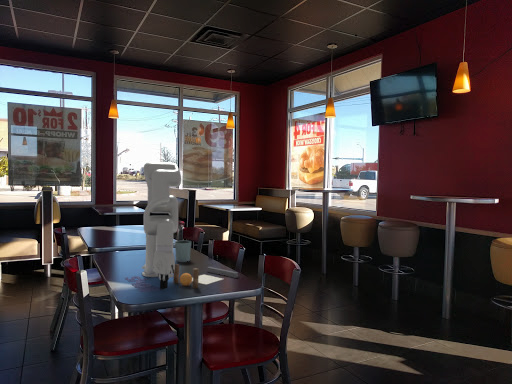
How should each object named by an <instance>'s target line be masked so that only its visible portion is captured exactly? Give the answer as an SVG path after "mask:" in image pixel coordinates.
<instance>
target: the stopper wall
mask: <svg viewBox="0 0 512 384" xmlns="http://www.w3.org/2000/svg"><path fill="white" fill-rule="evenodd" d="M206 272H207V273H211V274H216V275H219V274H220V276H224V275H225V276H224V277H230V278H235V279H236V278H239V272H237V271H231V270H226V269H222V268H219V267H218V268H216V267H212V266H208V267H206Z"/></svg>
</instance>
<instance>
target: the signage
mask: <svg viewBox="0 0 512 384" xmlns="http://www.w3.org/2000/svg"><path fill="white" fill-rule="evenodd" d="M124 280H126V281H128V282H129V283H131V286H132V287H134V288H136V289H137V290H138V291H139V292H141V293H146V292H154V291H161V290H163V289H160V286H152V284H150V283H147V282H146V281H148V278H142V277H140V276H136V275H135V276H132V277H130V278H129V277H124ZM133 282H134V283H133Z"/></svg>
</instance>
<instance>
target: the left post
mask: <svg viewBox="0 0 512 384" xmlns="http://www.w3.org/2000/svg"><path fill="white" fill-rule="evenodd" d="M173 284H175V285H176V284H180V264H177V263H175V271H174V273H173Z"/></svg>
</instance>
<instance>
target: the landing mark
mask: <svg viewBox="0 0 512 384" xmlns="http://www.w3.org/2000/svg"><path fill="white" fill-rule="evenodd" d="M220 281H224V278H222V277H217V276H213V275H207V274H200V275H199V278H198V284H201V285H210V284H213V283H216V282H220ZM191 283H193V277H192V282H191Z"/></svg>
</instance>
